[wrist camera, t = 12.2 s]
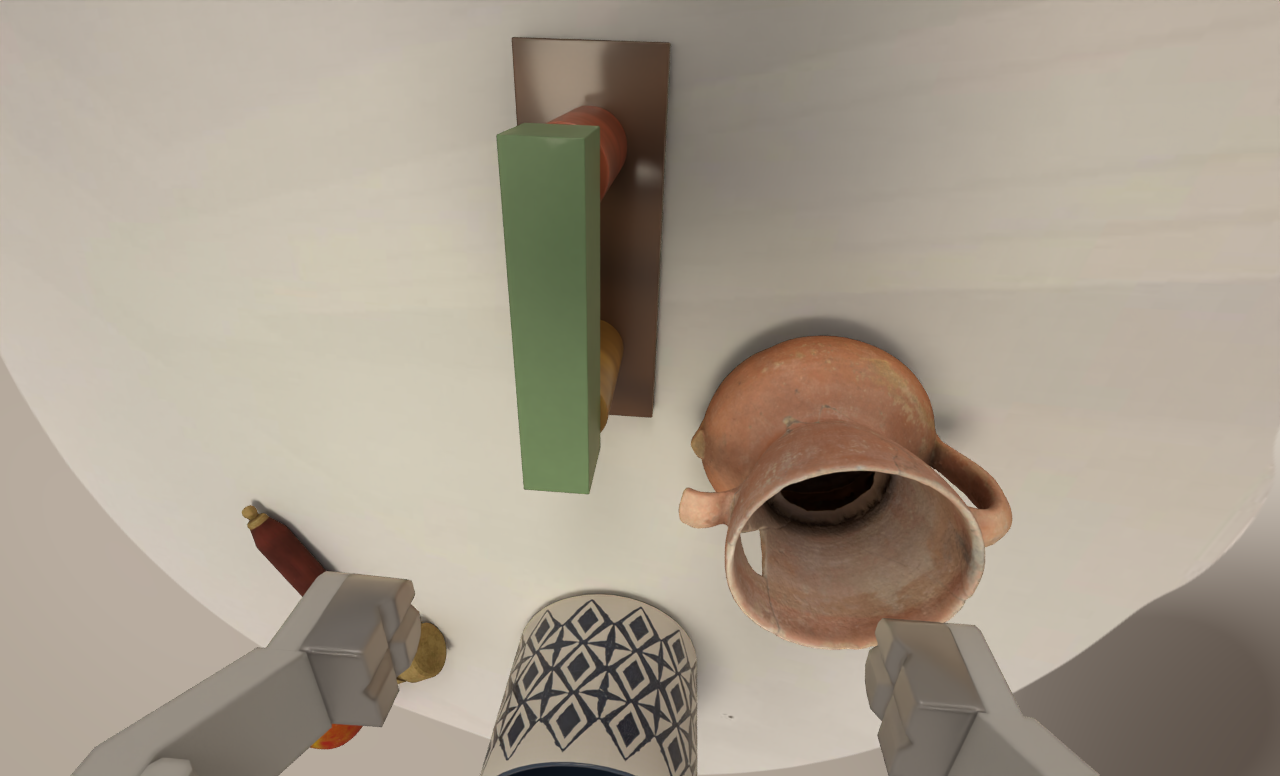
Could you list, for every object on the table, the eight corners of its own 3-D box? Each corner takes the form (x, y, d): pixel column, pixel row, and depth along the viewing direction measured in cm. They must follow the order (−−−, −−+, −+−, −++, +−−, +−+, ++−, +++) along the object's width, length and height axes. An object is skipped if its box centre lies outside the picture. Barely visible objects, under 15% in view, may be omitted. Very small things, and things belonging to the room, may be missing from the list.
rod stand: (518, 37, 32) (457, 33, 24) (670, 42, 32) (661, 41, 24) (539, 399, 43) (502, 482, 35) (653, 406, 43) (643, 493, 34)
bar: (523, 122, 25) (495, 134, 22) (600, 125, 25) (584, 138, 22) (541, 443, 33) (523, 489, 30) (600, 447, 33) (589, 494, 29)
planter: (636, 727, 60) (620, 905, 48) (492, 661, 57) (435, 833, 45) (732, 641, 53) (744, 824, 41) (575, 560, 50) (535, 731, 38)
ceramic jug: (674, 489, 46) (666, 652, 33) (692, 307, 39) (691, 430, 26) (918, 511, 45) (1003, 687, 33) (982, 331, 38) (1121, 468, 26)
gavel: (181, 545, 48) (270, 504, 45) (223, 510, 52) (307, 470, 50) (348, 715, 55) (434, 688, 53) (373, 672, 60) (454, 645, 57)
